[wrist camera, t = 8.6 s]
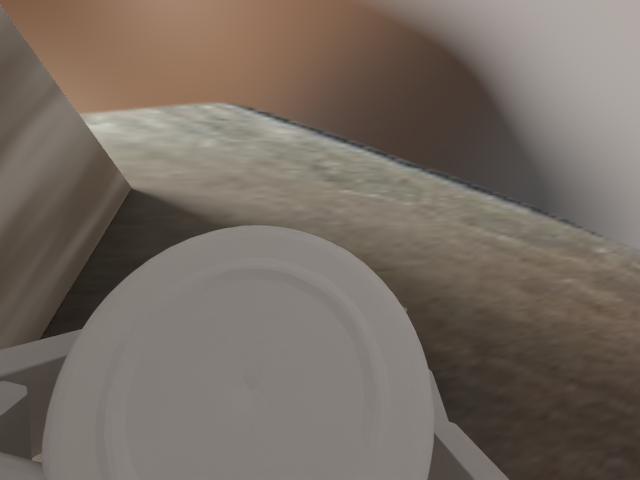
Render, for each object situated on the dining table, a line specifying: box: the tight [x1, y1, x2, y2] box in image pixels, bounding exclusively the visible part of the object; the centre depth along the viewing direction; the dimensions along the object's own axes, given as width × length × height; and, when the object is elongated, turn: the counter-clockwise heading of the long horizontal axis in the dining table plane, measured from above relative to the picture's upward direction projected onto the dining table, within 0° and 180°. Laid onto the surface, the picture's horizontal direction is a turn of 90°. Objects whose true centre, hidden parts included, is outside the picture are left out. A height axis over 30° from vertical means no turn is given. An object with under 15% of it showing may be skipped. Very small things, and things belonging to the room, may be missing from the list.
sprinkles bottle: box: [42, 225, 434, 480], centre depth 10 cm, size 5×5×13 cm
